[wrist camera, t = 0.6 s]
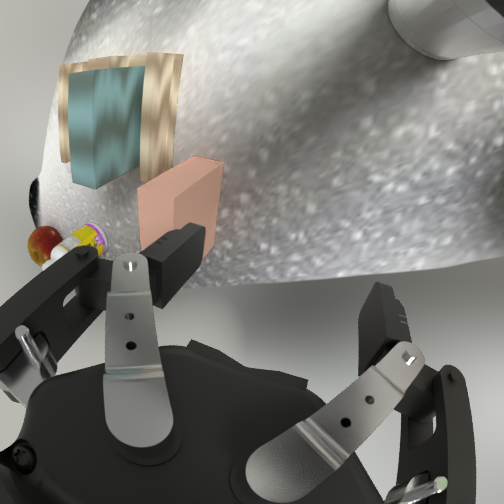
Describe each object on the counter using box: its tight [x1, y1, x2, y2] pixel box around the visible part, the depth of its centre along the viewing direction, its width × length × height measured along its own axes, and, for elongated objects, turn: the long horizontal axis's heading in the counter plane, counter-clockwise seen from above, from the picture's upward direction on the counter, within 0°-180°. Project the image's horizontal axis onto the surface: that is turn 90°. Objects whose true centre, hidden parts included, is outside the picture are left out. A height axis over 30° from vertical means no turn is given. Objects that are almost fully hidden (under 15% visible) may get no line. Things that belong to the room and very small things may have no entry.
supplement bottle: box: [42, 222, 108, 271], centre depth 41 cm, size 7×7×13 cm
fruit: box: [28, 226, 62, 267], centre depth 49 cm, size 10×9×8 cm
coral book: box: [137, 156, 224, 297], centre depth 30 cm, size 12×4×11 cm, turn 170°
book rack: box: [58, 53, 183, 189], centre depth 26 cm, size 15×18×12 cm
